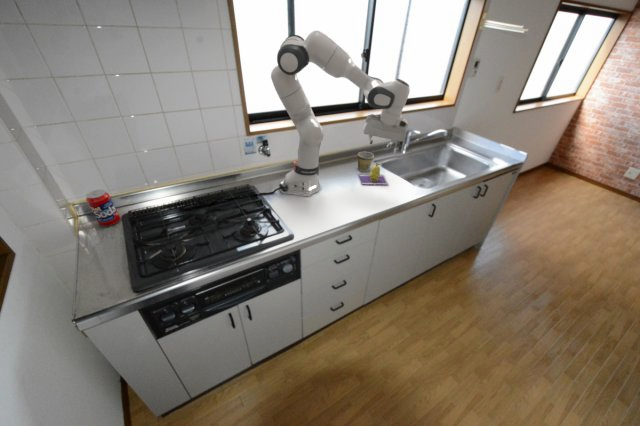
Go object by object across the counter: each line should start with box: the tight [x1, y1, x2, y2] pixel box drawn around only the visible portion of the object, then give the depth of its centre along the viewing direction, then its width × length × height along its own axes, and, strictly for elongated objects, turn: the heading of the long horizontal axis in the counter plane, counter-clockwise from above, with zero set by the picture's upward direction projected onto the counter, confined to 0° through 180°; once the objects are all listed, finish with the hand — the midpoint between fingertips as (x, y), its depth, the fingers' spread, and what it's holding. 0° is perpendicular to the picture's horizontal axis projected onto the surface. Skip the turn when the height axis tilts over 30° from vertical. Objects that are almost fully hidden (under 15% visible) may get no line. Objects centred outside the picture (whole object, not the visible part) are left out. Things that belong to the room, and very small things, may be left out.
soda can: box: [85, 189, 121, 227], centre depth 116 cm, size 8×8×15 cm
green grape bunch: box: [369, 162, 381, 182], centre depth 159 cm, size 6×6×11 cm
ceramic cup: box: [357, 151, 375, 173], centre depth 172 cm, size 13×10×10 cm
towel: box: [358, 174, 388, 186], centre depth 163 cm, size 15×12×1 cm
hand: (379, 145), depth 133 cm, fingers open, 8 cm apart
